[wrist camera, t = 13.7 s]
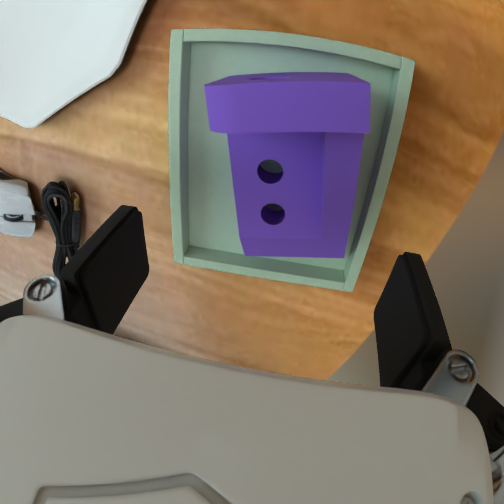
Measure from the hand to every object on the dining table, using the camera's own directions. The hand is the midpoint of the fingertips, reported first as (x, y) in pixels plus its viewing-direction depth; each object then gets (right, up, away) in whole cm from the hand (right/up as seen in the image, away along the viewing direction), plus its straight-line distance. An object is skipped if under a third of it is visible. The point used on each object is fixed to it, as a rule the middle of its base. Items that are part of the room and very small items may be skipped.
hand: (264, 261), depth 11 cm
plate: (-17, +21, +2) cm, 27 cm away
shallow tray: (+1, +6, +9) cm, 11 cm away
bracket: (+2, +6, +9) cm, 11 cm away
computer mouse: (-24, +5, +15) cm, 28 cm away
